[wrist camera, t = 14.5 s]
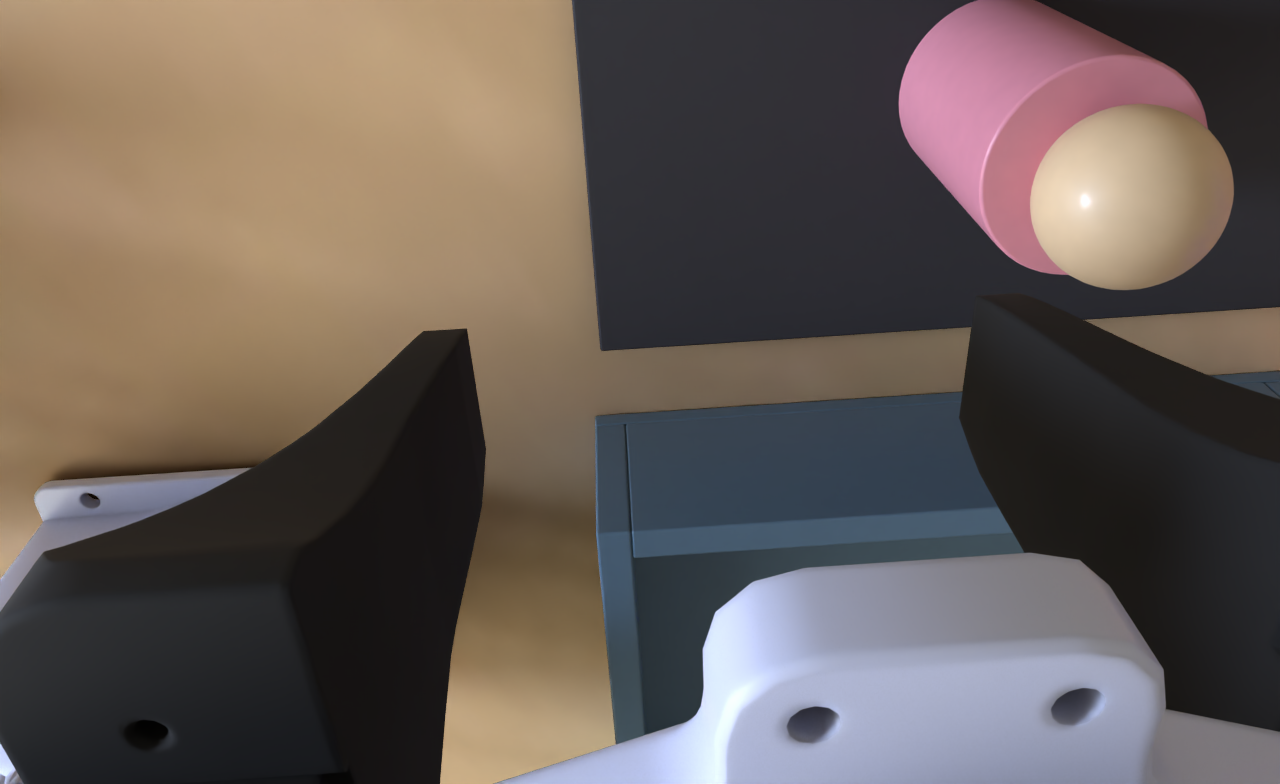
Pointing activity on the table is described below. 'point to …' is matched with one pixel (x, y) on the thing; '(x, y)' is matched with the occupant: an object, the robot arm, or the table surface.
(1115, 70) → the doll
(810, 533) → the blue tray
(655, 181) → the mat
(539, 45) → the table surface
